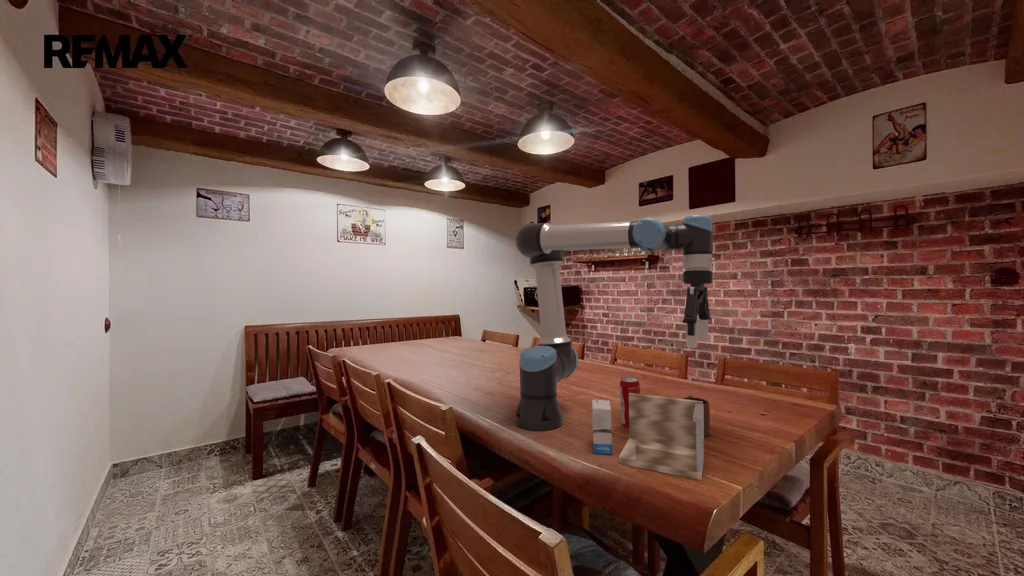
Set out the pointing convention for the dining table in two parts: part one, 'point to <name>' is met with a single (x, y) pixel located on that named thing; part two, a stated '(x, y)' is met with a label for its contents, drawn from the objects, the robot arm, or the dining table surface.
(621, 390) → the beverage can
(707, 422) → the mug
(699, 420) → the bookend
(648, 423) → the shelf
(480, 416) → the dining table surface
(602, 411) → the ink box
